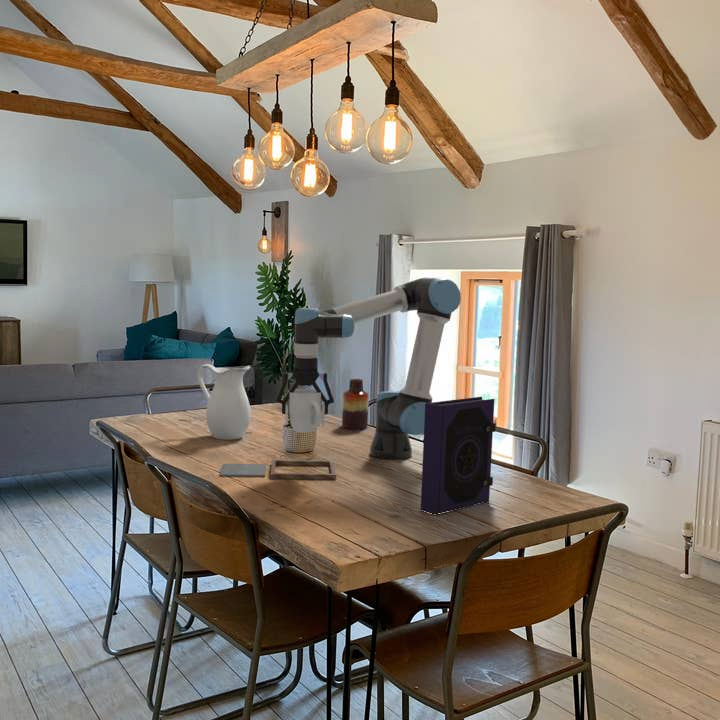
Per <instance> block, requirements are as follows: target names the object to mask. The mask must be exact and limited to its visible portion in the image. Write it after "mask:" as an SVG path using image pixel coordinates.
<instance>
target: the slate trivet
mask: <svg viewBox="0 0 720 720" xmlns="http://www.w3.org/2000/svg"><path fill="white" fill-rule="evenodd" d="M266 472H267V463H223V465H222V468H221V470H220V473H219V477H248V478H249V477H250V478H251V477H253V478H256V477H259V478H264V477H266Z"/></svg>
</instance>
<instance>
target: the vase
mask: <svg viewBox="0 0 720 720" xmlns="http://www.w3.org/2000/svg"><path fill="white" fill-rule="evenodd" d="M348 384H349V387H348V390H346V391H343V393H342V412H341V413H342V419H341V421H342V422H341V427H342V428H343V429H347V430H355V431H356V430H357V431H358V430H365V429H368V425H369V424H368V423H369V421H368V419H369V395H370V394H369V392H367V391H365V390H364V380H363V379H361V378H350V379H349V383H348Z"/></svg>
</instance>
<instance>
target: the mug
mask: <svg viewBox="0 0 720 720" xmlns="http://www.w3.org/2000/svg"><path fill="white" fill-rule="evenodd" d="M288 392H289V390H288V391H287V393H288ZM287 404H288V420H289V423H290V425H291V428H292V429H293V431H294V432H296V433H300V434H312V433H314V432H316V430H317V429H318V427H319V426H321V425H322V404H323V401H322V399H321V392H320V393H317V391H316V390H315V388H296V389H295V391H294V392H293V393H291V392H290V393H289V399H288V401H287Z"/></svg>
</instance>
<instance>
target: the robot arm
mask: <svg viewBox="0 0 720 720" xmlns="http://www.w3.org/2000/svg"><path fill="white" fill-rule="evenodd" d="M461 295H462V293H461V290H460V288H459V286H458V285H457V284H456V283H455V282H454V281H453V280H452V279H448V278H445V277H421V278H417V279H414V280H412V281H409V282H406V283H403V284H401V285H397V286H394V287H393V290H389V291H387V292H382V293H381V294H376V295H372V296H370V297H367V298H363V299H360V300H359V299H358V300H357V301H353V302H349V303H346V304H343V305H339V306H337V307H336V306H335V307H332V308H329V309H326V310H323V311H322V310H321V311H320V310H319V309H318V308H312V307H299V308H296V310H295V313H294V321H293V322H294V344H293V345H294V348H293V349H294V351H293V354H294V356H295V357H294V358H293V359H294V360H293V372H287V371H285V372H284V374H283V381H282V384H281V386H280V389H279V392H278V394H277V396H276V403H278V404H281V414H282V415H284V416H285V417H284V418H285V426H288V423H289V421H288V420H289V413H288V399H289V393H290V392H291V393H293V392H294V391H295V389H298V387H299V386H300V387H304V386H307V387H313V389H315V390H316V391H317V393H320V392H321V399H322V412H321V416H322V419H321V426H325V415H329V406H330V404H334V403H335V400H334V397H333V394H332V391H331V388H330V385H329V382H328V373H327V372H323V373H322V372H319V370H318V364H319V363H318V362H319V359H318V357H317V356H319V339H324V338H326V339H327V338H328V339H330V338H331V339H332V338H334V339H335V338H336V339H337V338H339V339H345V338H351V337H353V334H354V332H355V325H357V324H361V323H365V322H367V321H371V320H374V319H377V318H381V317H383V316H386V315H391V314H393V313H397V312H400V313H403V314H404V313H407V312H412V311H416V315H417V317H418V318H419V323H418V326H417V330H416V334H415V339H414V345H413V348H412V352H411V358H410V362H409V367H408V372H407V376H406V381H405V384H404V387H403V388H402V389H400V390H394V391H393V390H392V391H390V390H389V391H380V392H378V393H377V395H376V400H375V407H376V408H375V431H374V432H375V433H374V436H373V438H372V442H371V444H370V447H369V455H371V456H373V457H375V458H381V459H386V460H400V459H401V460H402V459H407V458H411V457H412V454H413V448H412V445H411V441H410V438H409V437H410V436H409V435H413V436H420V435H424V420H425V404H426V403H432V402H433V397H432V395H431V394H430V391H431V387H432V381H433V378H434V372H435V368H436V364H437V360H438V356H439V351H440V345H441V341H442V336H443V332H444V328H445V325H446V324H448V322H450V321H451V318H452V314H453V313H454V312H455V311H456V310H457V309H458V308H459V307H460V304H461V299H462V297H461ZM292 377H293V379H294V380H295V381H294V383H293V385H292V386H291V387H290V389H289V390H288V391H289V392H288V391H287V392H286V395H285V396H284V398H282V397H283V395H284V392H285V389H286V388H287V384H288V381H289V380H290V379H291V378H292ZM318 378H320V380H322V382H323V384H324V388H325V390H326V393H327V397H328V399H327V398H326V396H325V395H324V393H323V391H322V390H321V388H320V387H319V384H318V383H317V382H316V381H317V379H318Z"/></svg>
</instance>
